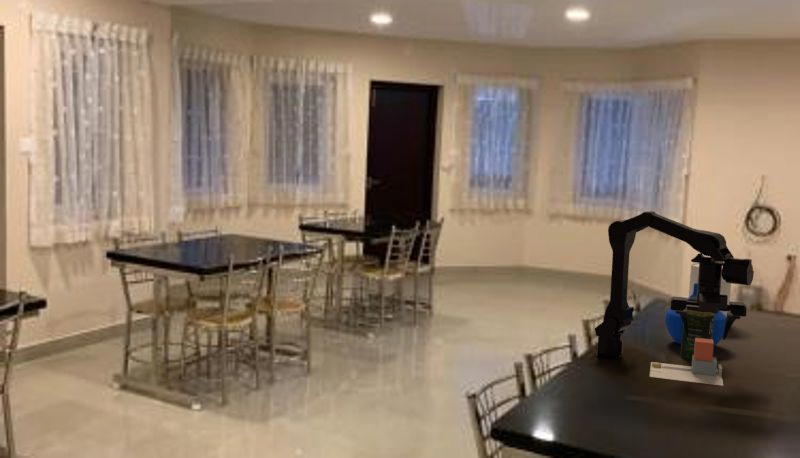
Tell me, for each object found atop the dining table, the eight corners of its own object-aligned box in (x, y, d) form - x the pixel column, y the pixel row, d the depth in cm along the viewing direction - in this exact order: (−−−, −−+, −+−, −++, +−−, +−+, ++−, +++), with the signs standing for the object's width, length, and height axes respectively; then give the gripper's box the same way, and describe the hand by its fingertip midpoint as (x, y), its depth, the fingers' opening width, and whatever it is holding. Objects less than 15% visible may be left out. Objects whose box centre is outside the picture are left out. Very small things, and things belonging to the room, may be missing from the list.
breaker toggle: (691, 373, 211) (692, 360, 210) (691, 367, 216) (692, 354, 216) (715, 375, 209) (717, 363, 208) (714, 369, 214) (715, 357, 214)
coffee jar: (705, 365, 222) (710, 301, 220) (676, 360, 227) (681, 297, 225) (714, 358, 230) (719, 296, 228) (686, 353, 235) (691, 292, 233)
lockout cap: (694, 359, 211) (695, 341, 210) (693, 355, 215) (695, 337, 215) (712, 361, 209) (713, 343, 209) (711, 357, 214) (712, 339, 213)
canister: (734, 326, 272) (738, 269, 270) (695, 325, 272) (699, 268, 270) (719, 318, 285) (723, 263, 283) (681, 316, 285) (685, 262, 283)
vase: (661, 347, 241) (665, 286, 238) (665, 334, 257) (669, 277, 255) (726, 355, 234) (731, 292, 232) (726, 341, 251) (730, 282, 248)
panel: (649, 380, 207) (650, 369, 206) (651, 365, 221) (651, 355, 220) (723, 389, 201) (724, 377, 201) (720, 373, 215) (721, 362, 215)
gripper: (672, 282, 205) (668, 341, 207) (750, 288, 199) (745, 348, 201) (672, 275, 216) (668, 331, 217) (746, 281, 210) (742, 339, 211)
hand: (705, 337), depth 211 cm, fingers open, 9 cm apart
